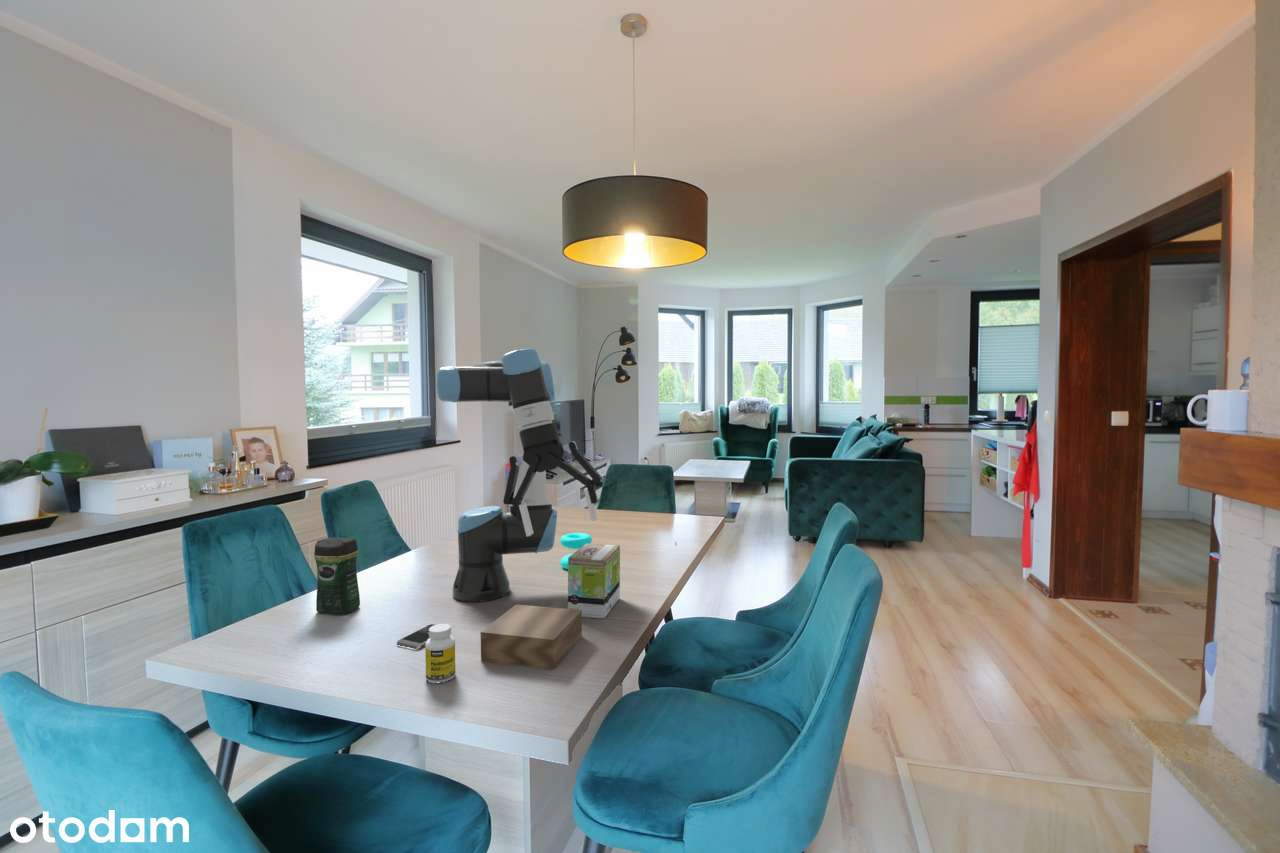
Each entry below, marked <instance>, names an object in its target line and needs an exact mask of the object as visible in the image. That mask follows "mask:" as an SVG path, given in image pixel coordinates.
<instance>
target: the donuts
mask: <svg viewBox="0 0 1280 853" xmlns="http://www.w3.org/2000/svg"><path fill="white" fill-rule="evenodd" d="M592 543H593V538H592V536H591V535H590V534H588V533H583V532H573V533H567V534H564V535H562V536H561V538H560V544H561V545H562V546H563V547H564V548H567V549H570V550H571V549H572V550H579V549H580V548H581V547H582V546H584V545H585V544H592ZM572 554H573V553H570V554H567V555H565V556H563V557H562V558H561V560H560V566H561V567H562V568H563V569H565V570H568V558H569V557H570V556H571V555H572Z"/></svg>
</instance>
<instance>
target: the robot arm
mask: <svg viewBox="0 0 1280 853" xmlns="http://www.w3.org/2000/svg"><path fill="white" fill-rule="evenodd" d="M436 391H437V397H438V399H439V400H440V402H448V403H449V402H450V403H462V402H463V403H466V402H467V403H469V402H470V403H473V402H474V403H475V402H477V403H478V402H502V403H505V402H506V403H508V409H509V410H510V411H511V412H512V413H513V416H514V417H513V418H514V420H513V421H514V426H513V428H514V430H513V431H514V432H513V433H514V434H513V435H514V437H513V438H514V455H512V456H510V457H508V458H509V467H510V468H509V474H508V478H507V483H506V486H505V492H504V496H503V502H502V503H503V504H504V505H509V511H503V509H502V507H501V506H499V505H487V506H483V507H481V506H480V507H476V508H473V509H469V510H467V511H464V512H463V513H461V514H460V516H459V517H458V522H457V530H456V531H457V532H456V533H457V537H458V541H457V542H458V569H457V572H456V576H455V579H454V582H453V585H452V597H453V598H454V599H455V600H457V601H461V602H468V603H469V602H471V603H477V602H487V601H492V600H493V601H494V600H496V599H499V598H503V597H505V596H506V595H507V594H508V593H510V590H511V589H510V588H511V587H510V580H509V577H508V574H507V572H506V569H505V566H504V561H503V559H504V558H503V555H515V554H518V555H519V554H532V553H533V554H534V553H535V554H538V553H544V552H549V551H551V550H552V549H553V547H554V545H555V537H556V531H557V518H558V510H557V509H555V508H553V503H552V502H551V501H550V499H548V497H547V470H548V471H551V470H554V469H557V468H560V469H562V470H563V471H564V472H566V473H567V474H568V475H570V476H571V477H573V478H574V479H575V480H577V481H578V482H579V483H581V484H582V485H584V486H585V488H584V489H583V493H584V497H585V501H586V504H587V508H588V512H589V517H590V521H591V522H594V521H596V520H597V519H598V516H597V512H596V508H595V507H596V506H595V503H597V502H598V496H597V492H596V484H599V483H600V482H601V481H602V479H603V477H602V476H601V474H600V473H599V472H598V471H597V470H596V468H595V467H594V466H593V465H592V464H591V462H590V461H589V460H588V459H587V458H586V457H585V456H584V454H582V452H581V451H580V449H579V446H578V443H577V441H575V440H572V441H570V442H569V443H566V444H564V445H563V444H562V443H561V440H560V436H559V433H558V432H559V431H558V428H557V424H556V423H555V422H553V421H554V420H555V416H554V413H553V408H552V404H551V403H553V402H555V400H556V395H555V387H554V380H553V375H552V369H551V365H550V364H549V363H548V362H546V361H541V360H540V357H539V353H538V351H537V350H536V349H534V348H523V349H516V350H513V351H510V352H507V353H504V354H503V355H502V357H501V360H492V361H486V362H480V363H475V364H470V365H469V366H455V365H454V366H453V365H452V366H442V367H440V368H439V369H438V370H437V374H436ZM565 451H566V452H567V453H568V454H571V455H572V456H573V458H574V459H575V460H576V461H577V463H579V464H580V466H581V467H582V469H583V470H584V471H585V472H586V473H587V474H588V476H589V477H590V478H589V477H588V476H587V475H585V474H584V473H583V472H581V471H580V470H578V469H577V468H575V467H574V466H573V465H571V464H570V463H569V462H568V461H567V460H566V459H564V458H563V456H564V453H565Z"/></svg>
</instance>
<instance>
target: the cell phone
mask: <svg viewBox="0 0 1280 853" xmlns="http://www.w3.org/2000/svg"><path fill="white" fill-rule="evenodd" d="M434 625H435V624H428V625H426V626H425V627H422V628H420V629H418V630H416V631H414V632H412V633H410V634H408V635H406V636H404V637H402V638H401V639H399V640H397V641H396V646H397V645H400V646H405V647H410V648H414V649H418V648H420V649H422V648H424V647H425V646H424V645H425V644H426V641H427V640H428V639H429V638H430V637H429V628H430V627H432V626H434ZM423 646H424V647H423ZM421 647H422V648H421ZM418 650H419V649H418Z"/></svg>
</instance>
